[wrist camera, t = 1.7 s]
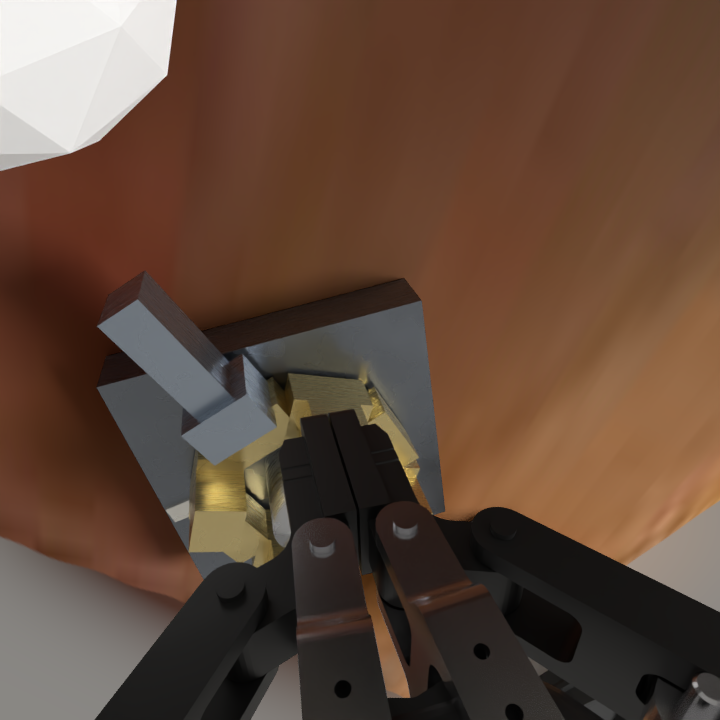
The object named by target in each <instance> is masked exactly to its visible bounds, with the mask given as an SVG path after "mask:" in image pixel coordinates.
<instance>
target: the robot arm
mask: <svg viewBox="0 0 720 720" xmlns="http://www.w3.org/2000/svg"><path fill="white" fill-rule="evenodd" d="M300 426H301V435H302V437H297V438H292V439H286V440H284V442H283V444H282V447H281V449H280V452H279V461H280V468H281V474H282V481H283V488H284V495H285V501H286V507H287V513H288V519H289V525H290V531H291V536H290V539H289V542H288V544H287V545H286V547H285V548H284V550H283V551H282V552H281V553H280V554H279V555H277V556H276V557H275V558H273V559H272V560H270V561H268V562H267V563H265V564H263V565H261V566H259V567H257V568H256V567H255V566H253V565H251V564H248V563H243V562H233V563H228V564H225V565H222V566H220V567H218V568H217V569H215V570H213V571H212V572H211V573H210V574H209V575H208V576H207V577H206V578H205V579H204V580H203V582H202V583H201V584H200V585H199V587H198V588H197V589H196V591H195V592H194V593H193V594H192V596H191V597H190V598H189V599H188V601H187V602H186V603H185V605H184V606H183V607H182V608H181V610H180V611H179V612H178V614H177V615H176V616H175V617H174V619H173V620H172V621H171V623H170V624H169V625H168V626H167V628H166V629H165V630H164V632H163V633H162V634H161V635H160V637H159V638H158V639H157V641H156V642H155V643H154V644H153V646H152V647H151V648H150V650H149V651H148V652H147V653H146V655H145V656H144V657H143V659H142V660H141V661H140V662H139V664H138V665H137V666H136V667H135V669H134V670H133V671H132V673H131V674H130V675H129V677H128V678H127V679H126V680H125V682H124V683H123V684H122V685H121V687H120V688H119V689H118V691H117V692H116V693H115V694H114V696H113V697H112V698H111V699H110V701H109V702H108V703H107V705H106V706H105V707H104V708H103V710H102V711H101V713H100V714H99V715H98V716H97V717H96V719H95V720H251V718H252V716H253V714H254V713H255V711H256V709H257V707H258V705H259V704H260V702H261V700H262V698H263V697H264V695H265V693H266V691H267V689H268V687H269V685H270V684H271V682H272V680H273V679H274V677H275V675H276V673H277V671H278V667H279V665H280V664H282V663H283V662H285V661H287V660H288V659H290V658H291V657H293V656H294V655H296V654H298V665H299V679H300V694H301V709H302V720H604V719H603V718H601V717H600V716H598V715H597V714H596V713H594V712H593V711H591V710H590V709H588V708H587V707H585V706H584V705H583V704H581V703H580V702H578V701H577V700H575V699H574V698H572V697H571V696H570V695H568V694H567V693H565V692H563V691H562V690H560V689H558V688H556V687H555V686H553V685H551V684H549V683H546V682H544V681H542V680H541V678H540V677H539V675H538V673H537V672H536V670H535V668H534V667H533V665H532V663H531V662H530V660H529V658H531V659H532V660H534V661H535V662H537V663H538V664H540V665H542V666H543V667H545V668H546V669H548V670H549V671H551V672H552V673H554V674H556V675H557V676H559V677H560V678H562V679H563V680H565V681H567V682H568V683H570V684H571V685H573V686H574V687H576V688H577V689H579V690H581V691H582V692H584V693H585V694H587V695H588V696H590V697H592V698H593V699H595V700H596V701H598V702H599V703H601V704H602V705H604V706H606V707H607V708H609V709H610V710H612V711H613V712H615V713H617V714H618V715H620V716H621V717H623V718H624V719H626V720H720V612H718V611H716V610H714V609H712V608H710V607H708V606H706V605H704V604H702V603H700V602H698V601H696V600H694V599H692V598H690V597H688V596H686V595H684V594H682V593H680V592H678V591H676V590H674V589H671V588H670V587H668V586H666V585H663V584H662V583H660V582H658V581H656V580H653V579H651V578H649V577H647V576H645V575H643V574H641V573H639V572H637V571H635V570H633V569H631V568H629V567H627V566H625V565H623V564H621V563H619V562H617V561H615V560H613V559H611V558H609V557H607V556H605V555H603V554H601V553H599V552H597V551H595V550H593V549H591V548H589V547H587V546H585V545H583V544H581V543H579V542H577V541H575V540H572V539H570V538H568V537H566V536H564V535H562V534H560V533H558V532H556V531H554V530H552V529H550V528H548V527H546V526H544V525H542V524H540V523H538V522H536V521H534V520H532V519H530V518H528V517H526V516H524V515H522V514H520V513H518V512H516V511H513V510H511V509H508V508H503V507H491V508H487V509H484V510H482V511H480V512H479V513H478V514H477V515H476V516H475V517H474V519H473V522H466V521H451V520H445V519H441V518H438V517H436V516H434V515H432V514H431V513H430V512H429V511H428V510H427V509H426V508H425V507H423V506H422V505H420V504H419V502H418V500H417V498H416V496H415V494H414V491H413V489H412V487H411V485H410V482H409V480H408V478H407V476H406V473H405V471H404V469H403V467H402V464H401V462H400V461H399V458H398V456H397V453H396V451H395V450H394V447H393V444H392V442H391V440H390V438H389V435H388V434H387V433H386V432H385V431H384V430H383V429H381V428H380V427H379V426H378V425H377V424H370V425H364V426H361V425H360V422H359V420H358V417H357V415H356V412H355V410H354V409H349V410H343V411H337V412H331V413H328V414H320V415H314V416H308V417H303V418H300ZM359 566H360V570H361V573H362V575H365V574H369V573H373V576H374V579H375V583H376V586H377V602H378V605H379V608H380V610H381V613H382V616H383V618H384V621H385V623H386V626H387V629H388V631H389V634H390V636H391V639H392V641H393V644H394V647H395V649H396V652H397V654H398V657H399V660H400V662H401V665H402V667H403V670H404V673H405V676H406V679H407V683H408V688H409V693H410V698H387V693H386V688H385V683H384V678H383V673H382V668H381V663H380V658H379V653H378V648H377V643H376V638H375V633H374V628H373V623H372V619H371V616H370V615H368V611H367V607H366V601H365V596H364V591H363V586H362V581H361V575H360V570H359ZM528 657H529V658H528Z"/></svg>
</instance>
